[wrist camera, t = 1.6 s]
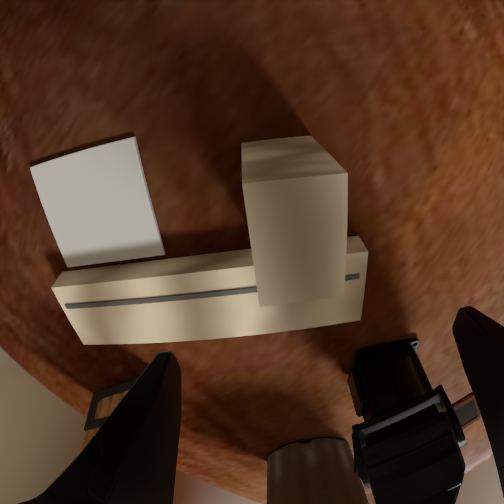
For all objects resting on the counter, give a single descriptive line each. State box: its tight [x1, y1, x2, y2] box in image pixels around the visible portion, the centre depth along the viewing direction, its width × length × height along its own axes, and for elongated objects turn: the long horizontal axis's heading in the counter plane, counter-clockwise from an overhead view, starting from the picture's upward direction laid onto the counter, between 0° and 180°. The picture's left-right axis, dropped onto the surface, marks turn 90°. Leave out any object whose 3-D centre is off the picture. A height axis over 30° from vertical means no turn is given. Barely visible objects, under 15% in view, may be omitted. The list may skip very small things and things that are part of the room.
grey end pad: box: [30, 136, 166, 267], centre depth 19 cm, size 8×8×1 cm
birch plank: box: [51, 236, 368, 345], centre depth 22 cm, size 22×6×2 cm, turn 97°
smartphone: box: [439, 392, 480, 429], centre depth 40 cm, size 7×1×15 cm
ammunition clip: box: [82, 377, 139, 450], centre depth 25 cm, size 11×2×12 cm, turn 122°
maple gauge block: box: [241, 136, 348, 307], centre depth 16 cm, size 4×6×7 cm, turn 7°
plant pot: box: [267, 438, 369, 504], centre depth 34 cm, size 16×16×16 cm
